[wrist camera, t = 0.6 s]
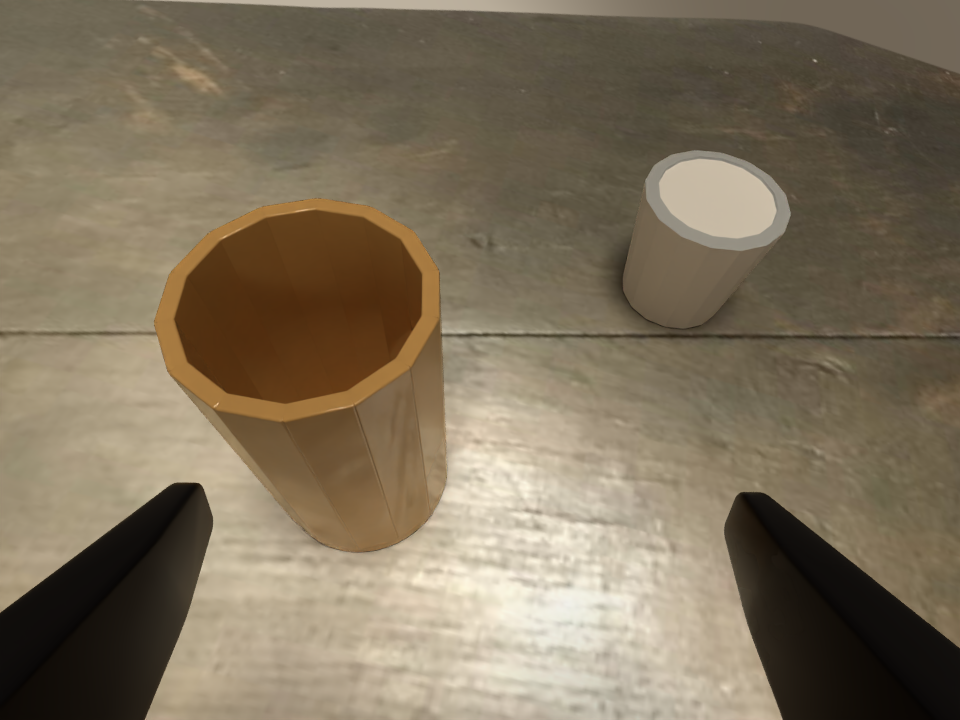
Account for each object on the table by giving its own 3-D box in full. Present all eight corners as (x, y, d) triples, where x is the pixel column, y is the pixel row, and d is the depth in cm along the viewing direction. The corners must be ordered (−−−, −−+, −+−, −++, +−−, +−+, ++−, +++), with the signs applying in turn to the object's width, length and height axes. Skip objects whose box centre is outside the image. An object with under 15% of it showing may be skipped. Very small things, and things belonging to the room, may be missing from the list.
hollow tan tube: (428, 568, 24) (404, 445, 13) (258, 534, 25) (96, 387, 14) (462, 414, 28) (465, 220, 17) (315, 388, 28) (225, 182, 17)
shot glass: (588, 268, 33) (616, 172, 27) (680, 231, 35) (725, 133, 29) (659, 356, 30) (709, 269, 24) (755, 310, 32) (823, 219, 26)
